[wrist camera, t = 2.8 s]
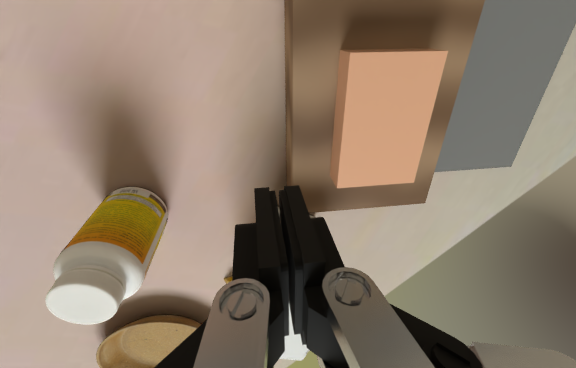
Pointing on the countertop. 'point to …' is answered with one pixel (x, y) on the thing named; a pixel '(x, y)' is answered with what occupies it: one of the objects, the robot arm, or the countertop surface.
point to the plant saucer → (144, 341)
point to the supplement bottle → (107, 257)
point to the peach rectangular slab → (383, 114)
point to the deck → (324, 75)
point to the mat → (504, 81)
